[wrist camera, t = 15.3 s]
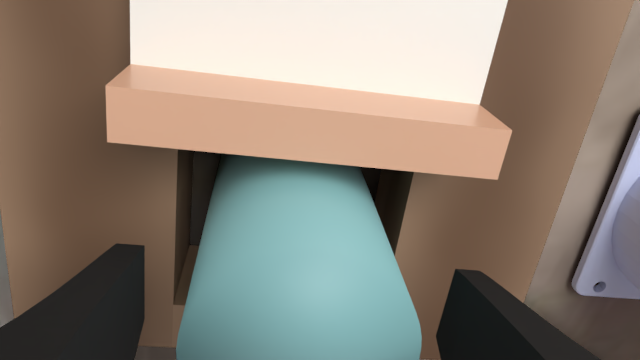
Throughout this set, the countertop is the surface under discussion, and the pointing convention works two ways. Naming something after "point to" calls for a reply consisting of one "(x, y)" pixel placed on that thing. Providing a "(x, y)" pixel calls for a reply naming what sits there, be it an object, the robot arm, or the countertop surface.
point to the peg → (295, 269)
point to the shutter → (315, 82)
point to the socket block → (177, 164)
